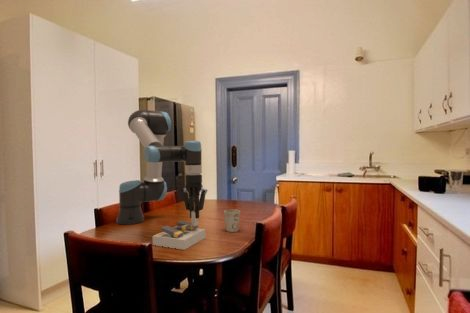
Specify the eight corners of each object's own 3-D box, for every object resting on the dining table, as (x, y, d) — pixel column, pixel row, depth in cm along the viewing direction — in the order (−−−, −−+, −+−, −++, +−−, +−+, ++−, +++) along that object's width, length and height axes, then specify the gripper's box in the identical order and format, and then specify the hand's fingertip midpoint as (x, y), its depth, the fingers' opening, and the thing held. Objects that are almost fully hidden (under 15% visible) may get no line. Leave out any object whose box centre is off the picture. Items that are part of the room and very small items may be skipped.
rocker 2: (169, 232, 132) (168, 228, 132) (174, 229, 136) (174, 226, 136) (186, 229, 128) (185, 226, 128) (191, 227, 132) (190, 224, 132)
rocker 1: (160, 230, 126) (161, 227, 126) (166, 228, 130) (166, 225, 130) (177, 238, 123) (178, 234, 123) (183, 235, 127) (183, 232, 127)
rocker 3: (176, 224, 137) (176, 222, 137) (181, 223, 141) (181, 220, 141) (192, 230, 134) (193, 227, 134) (197, 227, 138) (197, 224, 138)
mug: (228, 233, 144) (228, 213, 144) (218, 227, 155) (218, 208, 155) (243, 231, 148) (243, 211, 148) (232, 225, 159) (232, 207, 159)
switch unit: (152, 245, 127) (152, 233, 127) (176, 234, 144) (176, 224, 143) (184, 249, 121) (184, 237, 121) (205, 237, 137) (205, 227, 137)
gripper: (176, 174, 135) (178, 226, 135) (202, 175, 130) (203, 228, 130) (185, 173, 142) (186, 222, 142) (210, 173, 137) (211, 224, 137)
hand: (194, 225), depth 136 cm, fingers closed
